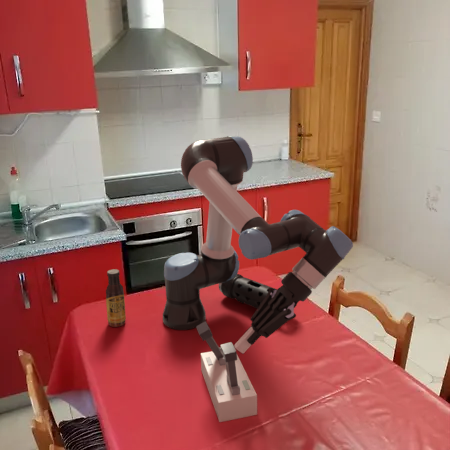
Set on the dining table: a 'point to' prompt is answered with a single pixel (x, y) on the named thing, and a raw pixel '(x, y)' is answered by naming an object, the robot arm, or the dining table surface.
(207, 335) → the inner lever
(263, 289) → the muzzle brake
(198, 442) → the dining table surface
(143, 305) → the dining table surface
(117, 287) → the sauce bottle
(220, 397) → the switch panel
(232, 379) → the outer lever
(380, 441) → the dining table surface
